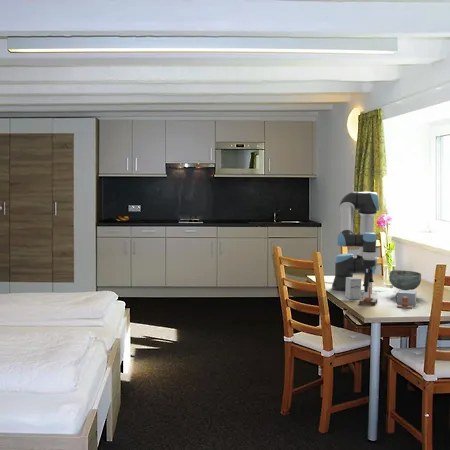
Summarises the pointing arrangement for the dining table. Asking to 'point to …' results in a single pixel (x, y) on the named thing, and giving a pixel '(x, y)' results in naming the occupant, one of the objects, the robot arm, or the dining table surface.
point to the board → (405, 303)
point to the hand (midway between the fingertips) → (367, 295)
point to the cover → (406, 293)
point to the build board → (368, 302)
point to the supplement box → (353, 288)
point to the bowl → (405, 279)
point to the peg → (369, 295)
